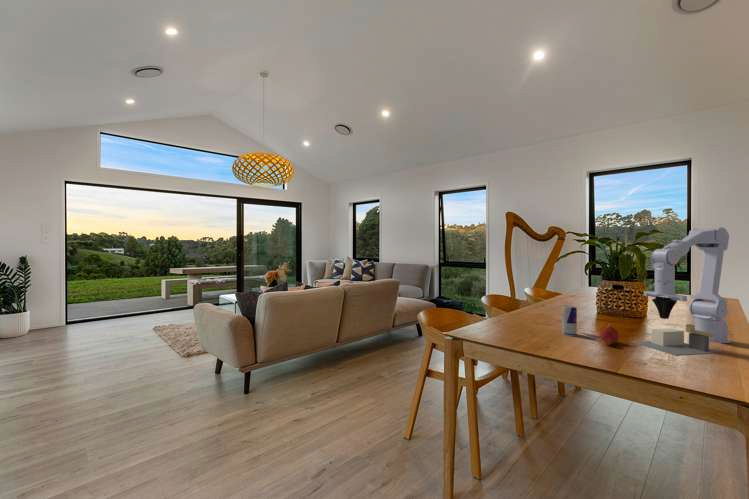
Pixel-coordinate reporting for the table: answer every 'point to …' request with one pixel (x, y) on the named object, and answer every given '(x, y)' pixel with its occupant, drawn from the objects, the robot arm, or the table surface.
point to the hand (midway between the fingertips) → (664, 318)
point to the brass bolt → (697, 331)
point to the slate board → (683, 346)
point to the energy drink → (569, 320)
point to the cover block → (667, 336)
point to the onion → (609, 335)
